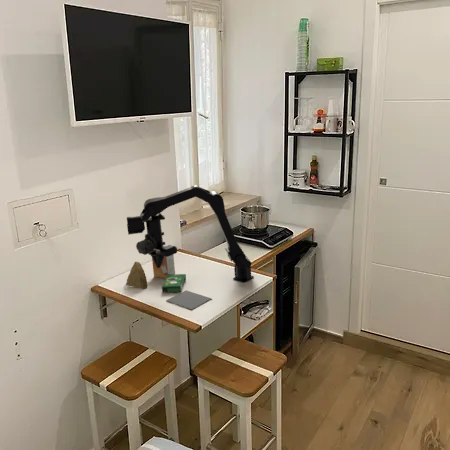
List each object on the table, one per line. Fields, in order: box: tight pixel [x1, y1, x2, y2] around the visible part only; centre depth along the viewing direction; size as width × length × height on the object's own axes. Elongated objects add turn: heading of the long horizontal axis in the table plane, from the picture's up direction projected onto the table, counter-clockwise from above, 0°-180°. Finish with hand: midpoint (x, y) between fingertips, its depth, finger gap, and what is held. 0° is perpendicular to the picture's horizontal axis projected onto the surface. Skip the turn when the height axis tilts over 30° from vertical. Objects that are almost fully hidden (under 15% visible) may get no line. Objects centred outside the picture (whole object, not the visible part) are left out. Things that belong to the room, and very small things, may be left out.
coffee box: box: [161, 273, 187, 293], centre depth 200 cm, size 8×3×13 cm
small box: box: [151, 254, 176, 280], centre depth 211 cm, size 8×6×10 cm
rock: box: [125, 261, 148, 290], centre depth 203 cm, size 11×9×10 cm
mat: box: [166, 289, 212, 311], centre depth 187 cm, size 14×11×1 cm
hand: (158, 267), depth 194 cm, fingers closed
